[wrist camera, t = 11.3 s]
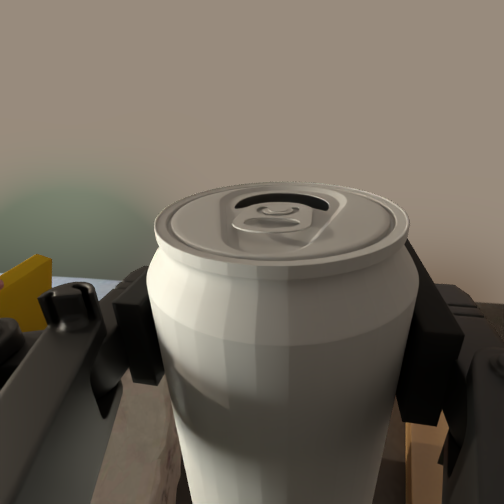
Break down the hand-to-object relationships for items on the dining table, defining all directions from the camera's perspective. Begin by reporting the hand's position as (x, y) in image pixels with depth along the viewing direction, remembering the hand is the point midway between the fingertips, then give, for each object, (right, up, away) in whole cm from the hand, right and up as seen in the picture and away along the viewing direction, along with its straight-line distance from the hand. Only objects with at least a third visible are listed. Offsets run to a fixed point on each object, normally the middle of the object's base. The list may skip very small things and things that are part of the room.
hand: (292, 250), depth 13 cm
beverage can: (-1, -10, -1) cm, 10 cm away
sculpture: (-8, -19, +11) cm, 23 cm away
